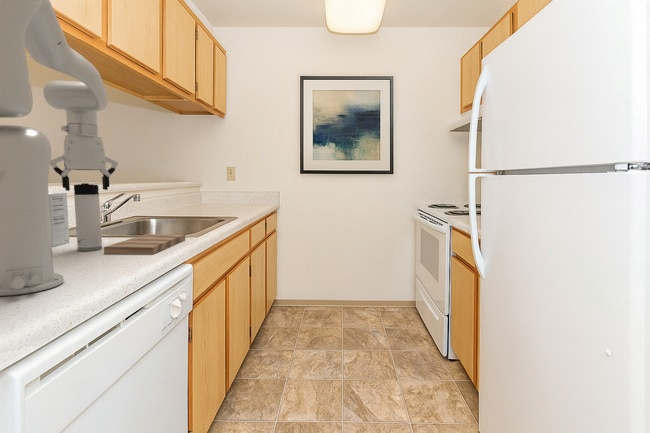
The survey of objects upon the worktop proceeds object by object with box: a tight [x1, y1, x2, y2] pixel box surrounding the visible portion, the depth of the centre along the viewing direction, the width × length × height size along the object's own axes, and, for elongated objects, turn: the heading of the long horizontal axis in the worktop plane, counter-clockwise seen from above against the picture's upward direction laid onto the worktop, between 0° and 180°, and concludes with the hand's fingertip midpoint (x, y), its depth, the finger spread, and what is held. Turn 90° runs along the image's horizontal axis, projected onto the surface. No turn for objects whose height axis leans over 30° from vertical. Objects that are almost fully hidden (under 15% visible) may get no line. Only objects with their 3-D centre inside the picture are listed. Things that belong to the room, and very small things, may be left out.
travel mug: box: [73, 182, 103, 252], centre depth 111 cm, size 6×7×20 cm
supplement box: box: [48, 191, 70, 248], centre depth 119 cm, size 10×9×17 cm
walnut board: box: [103, 233, 186, 256], centre depth 118 cm, size 24×14×2 cm, turn 179°
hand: (86, 190), depth 111 cm, fingers open, 9 cm apart
